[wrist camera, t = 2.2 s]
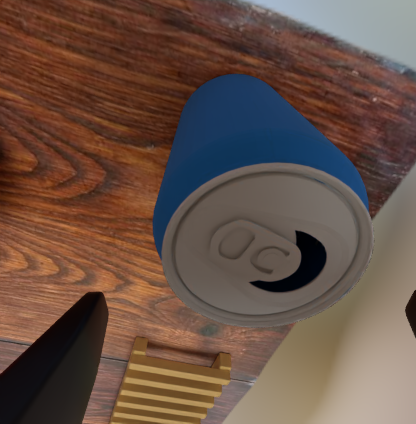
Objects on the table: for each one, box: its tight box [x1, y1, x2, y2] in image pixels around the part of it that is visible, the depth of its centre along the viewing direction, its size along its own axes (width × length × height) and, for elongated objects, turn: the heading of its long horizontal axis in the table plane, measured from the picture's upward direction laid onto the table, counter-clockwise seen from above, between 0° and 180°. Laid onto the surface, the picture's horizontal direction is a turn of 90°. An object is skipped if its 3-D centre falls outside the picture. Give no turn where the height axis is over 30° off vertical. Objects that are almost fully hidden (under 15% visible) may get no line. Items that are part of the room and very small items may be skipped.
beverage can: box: [153, 74, 374, 328], centre depth 13 cm, size 6×6×12 cm
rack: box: [109, 337, 231, 424], centre depth 35 cm, size 24×10×2 cm, turn 162°
